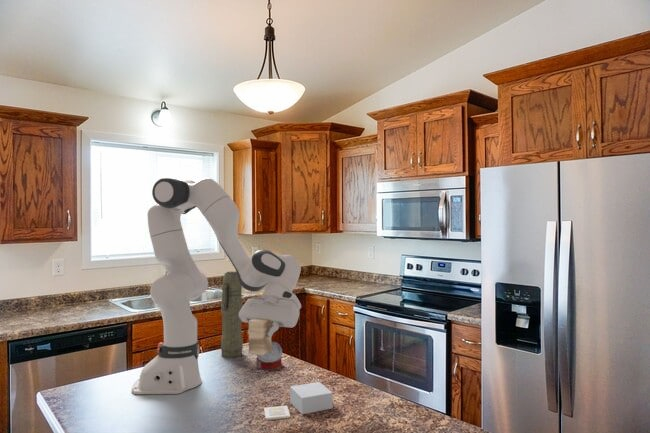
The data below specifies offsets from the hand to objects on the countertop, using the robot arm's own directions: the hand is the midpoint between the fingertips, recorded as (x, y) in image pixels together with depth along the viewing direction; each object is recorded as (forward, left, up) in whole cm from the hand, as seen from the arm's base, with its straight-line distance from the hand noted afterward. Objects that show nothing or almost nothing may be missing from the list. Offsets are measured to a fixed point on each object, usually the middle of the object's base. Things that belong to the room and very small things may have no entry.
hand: (259, 335), depth 136 cm
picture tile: (+5, -7, -21) cm, 23 cm away
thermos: (-7, +54, -22) cm, 58 cm away
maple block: (0, +1, -5) cm, 5 cm away
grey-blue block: (+16, -3, -22) cm, 27 cm away
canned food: (+7, +37, -22) cm, 43 cm away
